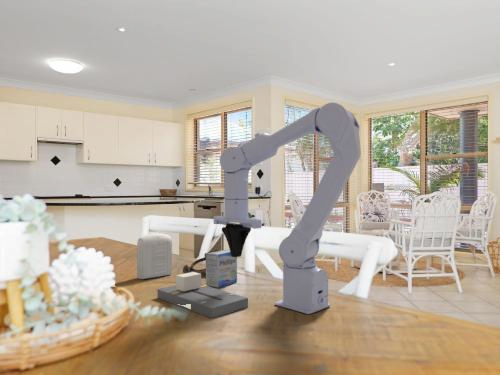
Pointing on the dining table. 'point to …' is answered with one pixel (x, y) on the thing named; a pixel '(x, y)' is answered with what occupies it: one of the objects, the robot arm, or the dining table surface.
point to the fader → (188, 281)
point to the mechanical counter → (190, 269)
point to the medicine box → (220, 269)
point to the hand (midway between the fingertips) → (236, 256)
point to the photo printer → (154, 256)
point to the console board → (204, 300)
